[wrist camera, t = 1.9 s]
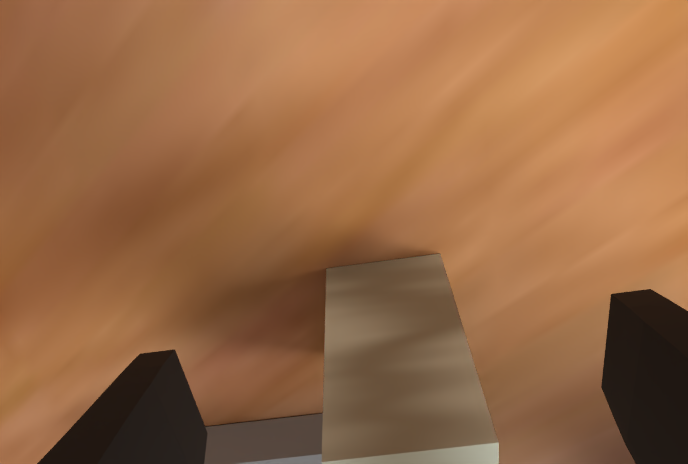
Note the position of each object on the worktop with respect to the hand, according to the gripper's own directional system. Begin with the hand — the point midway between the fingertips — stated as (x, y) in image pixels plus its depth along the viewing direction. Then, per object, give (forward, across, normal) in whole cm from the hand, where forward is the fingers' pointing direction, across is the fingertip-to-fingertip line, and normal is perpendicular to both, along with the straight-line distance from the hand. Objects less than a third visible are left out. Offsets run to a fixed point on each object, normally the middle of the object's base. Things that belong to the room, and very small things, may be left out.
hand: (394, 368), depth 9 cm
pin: (+9, 0, +6) cm, 11 cm away
